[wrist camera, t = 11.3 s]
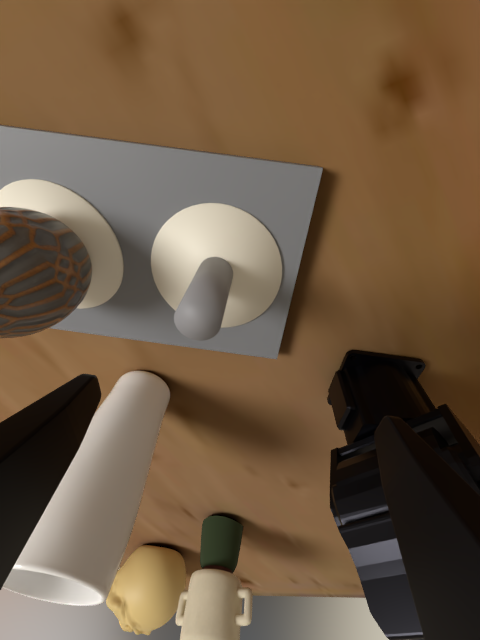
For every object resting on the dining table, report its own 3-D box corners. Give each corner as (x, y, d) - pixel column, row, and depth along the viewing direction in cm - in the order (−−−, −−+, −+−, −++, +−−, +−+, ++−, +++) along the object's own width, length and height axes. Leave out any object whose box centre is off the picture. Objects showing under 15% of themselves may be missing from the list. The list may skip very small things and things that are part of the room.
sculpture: (116, 539, 51) (84, 624, 42) (172, 535, 48) (150, 626, 39) (148, 562, 57) (126, 641, 48) (200, 560, 54) (187, 644, 45)
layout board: (319, 166, 16) (352, 182, 10) (276, 349, 24) (279, 423, 18) (-50, 118, 16) (-241, 104, 10) (26, 315, 24) (-57, 376, 18)
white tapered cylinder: (100, 364, 27) (-47, 564, 14) (166, 358, 25) (69, 569, 13) (128, 411, 30) (30, 603, 18) (187, 407, 29) (126, 610, 17)
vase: (35, 297, 21) (-87, 380, 14) (-16, 200, 17) (-220, 243, 10) (121, 295, 20) (40, 381, 13) (87, 194, 17) (-52, 236, 9)
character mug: (205, 533, 46) (186, 653, 36) (182, 514, 43) (153, 639, 32) (264, 525, 43) (263, 655, 32) (244, 504, 40) (235, 641, 29)
